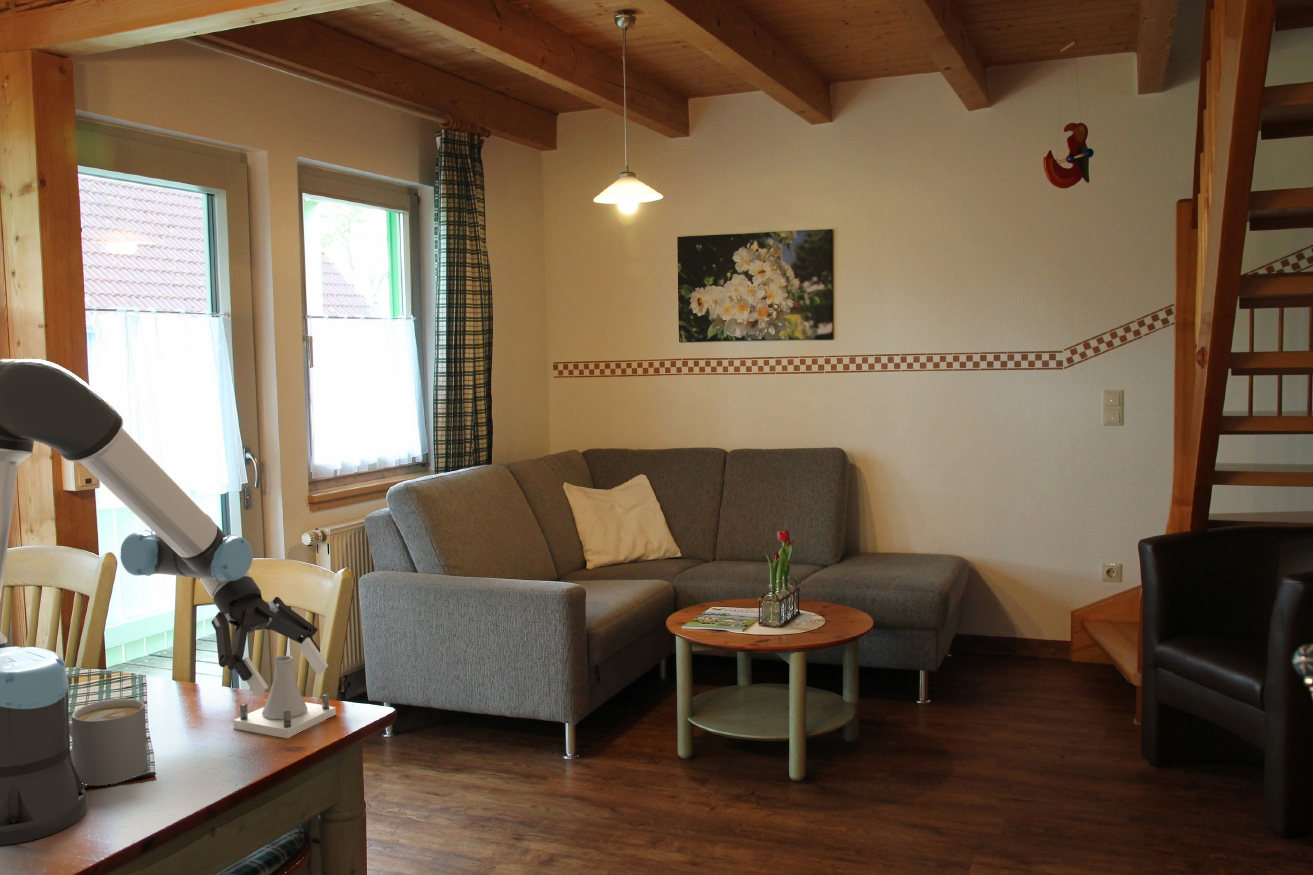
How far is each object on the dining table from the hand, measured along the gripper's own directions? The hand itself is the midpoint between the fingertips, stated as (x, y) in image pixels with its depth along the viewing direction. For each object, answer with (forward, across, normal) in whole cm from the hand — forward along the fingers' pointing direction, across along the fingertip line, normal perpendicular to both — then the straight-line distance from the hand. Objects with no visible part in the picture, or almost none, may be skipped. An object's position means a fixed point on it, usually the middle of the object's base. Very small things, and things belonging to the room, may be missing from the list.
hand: (294, 681), depth 178 cm
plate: (+4, 0, -7) cm, 8 cm away
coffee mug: (-2, +29, -13) cm, 32 cm away
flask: (+3, 0, -6) cm, 7 cm away
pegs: (+3, 0, -6) cm, 7 cm away
